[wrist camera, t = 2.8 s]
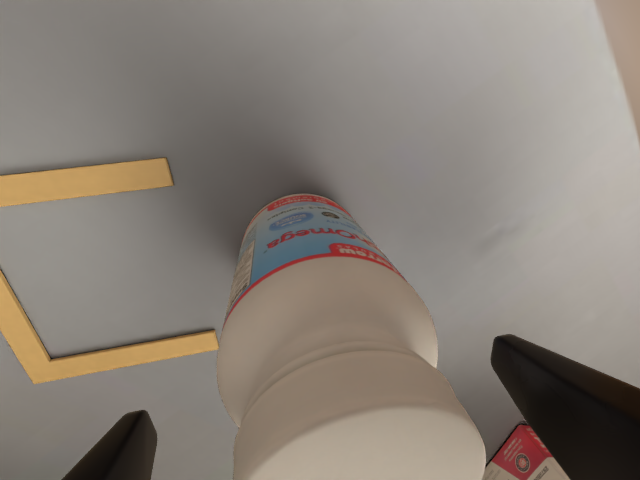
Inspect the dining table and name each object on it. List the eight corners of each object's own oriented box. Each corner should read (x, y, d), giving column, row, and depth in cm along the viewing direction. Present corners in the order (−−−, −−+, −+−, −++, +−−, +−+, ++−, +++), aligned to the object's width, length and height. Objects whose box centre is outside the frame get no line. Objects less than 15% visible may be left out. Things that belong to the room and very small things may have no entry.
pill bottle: (374, 210, 15) (593, 391, 5) (333, 309, 17) (435, 587, 7) (258, 173, 14) (240, 330, 4) (226, 286, 16) (153, 608, 5)
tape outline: (219, 346, 17) (218, 349, 17) (36, 381, 16) (33, 384, 16) (166, 157, 13) (165, 157, 13) (-85, 184, 12) (-90, 185, 12)
